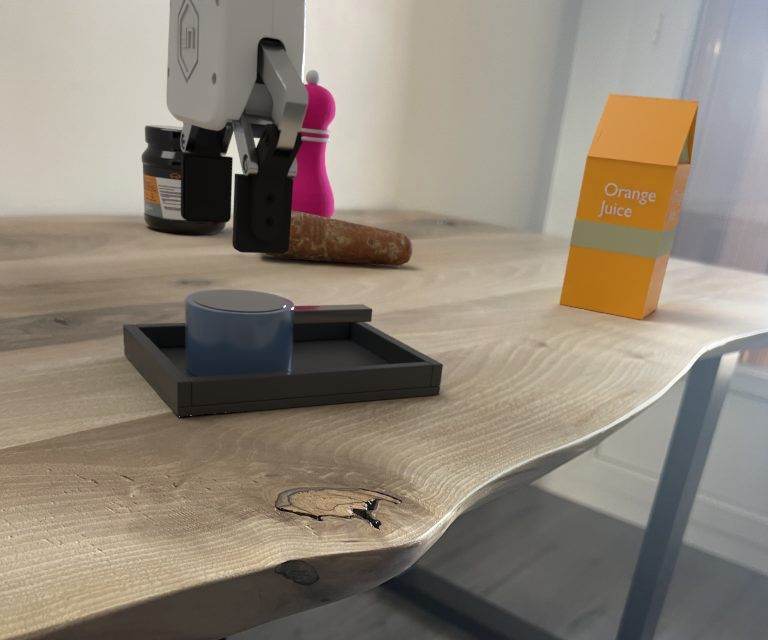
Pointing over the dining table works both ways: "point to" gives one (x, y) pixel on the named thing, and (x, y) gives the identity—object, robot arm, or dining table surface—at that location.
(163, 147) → the supplement container
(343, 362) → the tray
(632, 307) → the orange juice
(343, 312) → the pan
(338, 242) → the brown elongated bar
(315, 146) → the pepper mill
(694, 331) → the dining table surface
